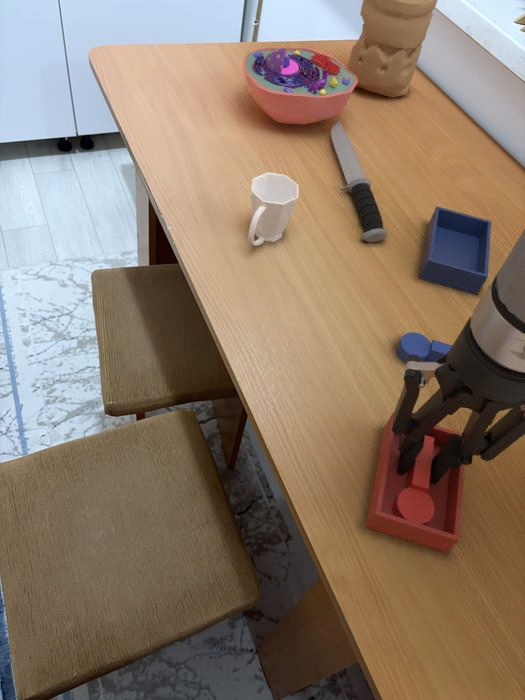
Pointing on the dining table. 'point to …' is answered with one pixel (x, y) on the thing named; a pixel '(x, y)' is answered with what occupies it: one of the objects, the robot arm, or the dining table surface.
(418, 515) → the red spoon
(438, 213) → the blue bin
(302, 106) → the cell model
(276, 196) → the cup
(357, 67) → the container
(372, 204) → the knife
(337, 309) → the dining table surface
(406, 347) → the blue spoon
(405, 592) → the dining table surface
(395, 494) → the red bin
